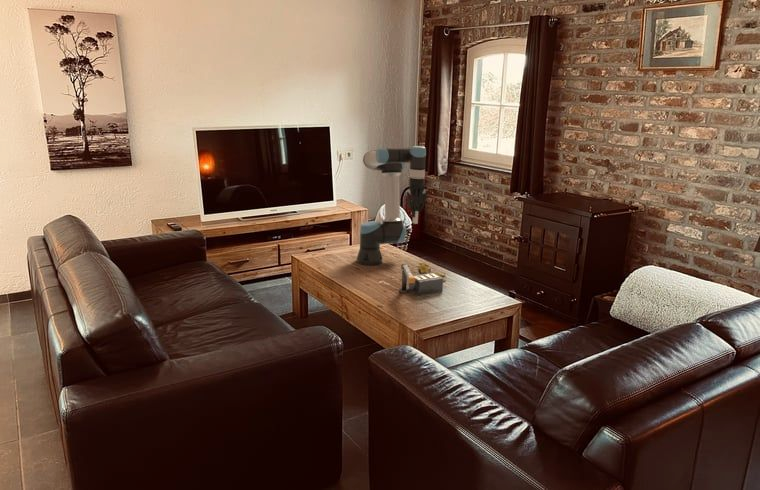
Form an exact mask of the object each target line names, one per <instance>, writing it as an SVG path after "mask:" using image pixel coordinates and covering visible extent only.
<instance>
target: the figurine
mask: <svg viewBox="0 0 760 490" xmlns="http://www.w3.org/2000/svg"><path fill="white" fill-rule="evenodd" d="M417 264H418V265H419V266H417V272H418V273H419V275H420V274H427V273H431V272H432V271H431V270H432V268H431V267H429V266H430V265H429V264H427V263H425V262H418V263H417ZM433 273H434V274H436V275H438V276H440V277H442V278H443V283H444V282H447V280H446V279H445V278H444V277H445V276H446V274H442V273H439V272H433Z"/></svg>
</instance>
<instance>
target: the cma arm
mask: <svg viewBox="0 0 760 490" xmlns="http://www.w3.org/2000/svg"><path fill="white" fill-rule="evenodd" d="M400 269H401V270H404V272H405V274H406V276H407V281H408V284H409V283H415V277H414V276H413V274H412V271H411V270H410V268H409V264H406V263H403V264H401V265H400Z"/></svg>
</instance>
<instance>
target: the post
mask: <svg viewBox="0 0 760 490" xmlns="http://www.w3.org/2000/svg"><path fill="white" fill-rule="evenodd" d="M401 271H402V273H401V288H399V289H398V292H399V293H401V294H409V292H410V290H409V288H407V281H408V278H407V276H406V274H405V272H404V270H403V269H401Z"/></svg>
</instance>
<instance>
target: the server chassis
mask: <svg viewBox="0 0 760 490" xmlns="http://www.w3.org/2000/svg"><path fill="white" fill-rule="evenodd" d="M434 273H435V272H430V273H427V274H420V273H419V274H414V275H413V274H412V275H413V276H414V277H415V283H409V282H408V289H409V291H410V292H413V293H414V294H416V295H418V296H422V295H429V294H436V293H440V292H441V293H442V292H443V289H444V287H443V286H444V282H443V278H444V277H443V276H441V277H440V276H438V275H436V274H434ZM442 277H443V278H442Z"/></svg>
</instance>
